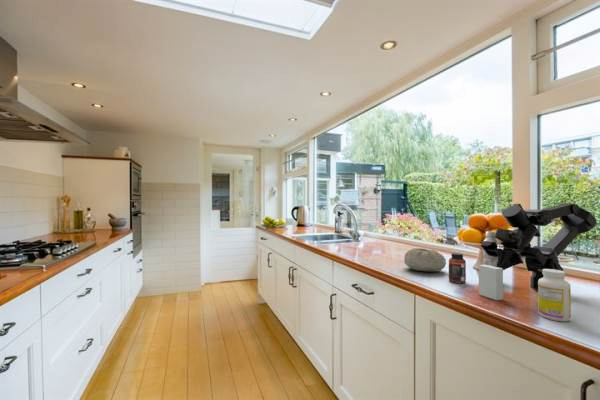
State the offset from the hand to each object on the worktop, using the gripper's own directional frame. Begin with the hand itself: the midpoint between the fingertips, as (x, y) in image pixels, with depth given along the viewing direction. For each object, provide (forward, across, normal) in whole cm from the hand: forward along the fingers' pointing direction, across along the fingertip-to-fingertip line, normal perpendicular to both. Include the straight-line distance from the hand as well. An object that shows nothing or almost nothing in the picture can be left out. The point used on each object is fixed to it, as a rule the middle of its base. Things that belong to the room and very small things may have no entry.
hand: (498, 270), depth 95 cm
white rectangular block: (+8, 0, +4) cm, 9 cm away
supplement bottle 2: (+8, +18, +4) cm, 20 cm away
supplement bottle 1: (+5, -18, +7) cm, 20 cm away
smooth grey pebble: (+4, -37, +8) cm, 38 cm away
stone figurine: (-5, -14, +17) cm, 23 cm away
